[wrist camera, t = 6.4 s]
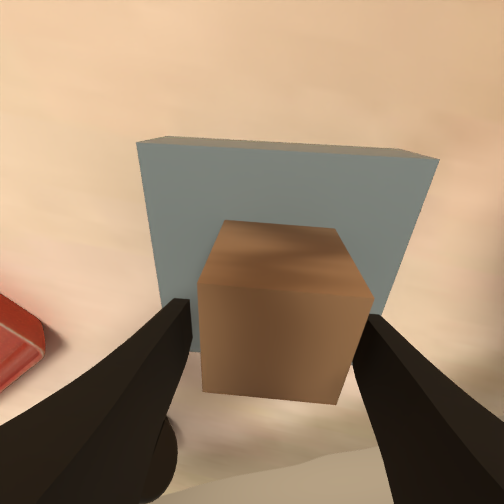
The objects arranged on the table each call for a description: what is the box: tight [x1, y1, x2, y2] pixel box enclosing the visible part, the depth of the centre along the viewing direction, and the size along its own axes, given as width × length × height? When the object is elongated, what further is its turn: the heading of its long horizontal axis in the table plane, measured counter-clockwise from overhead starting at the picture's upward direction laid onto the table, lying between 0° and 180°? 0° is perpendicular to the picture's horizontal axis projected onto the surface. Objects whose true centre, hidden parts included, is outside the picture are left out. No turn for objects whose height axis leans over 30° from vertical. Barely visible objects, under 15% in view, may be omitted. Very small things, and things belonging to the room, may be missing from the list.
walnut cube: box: [197, 220, 375, 405], centre depth 11 cm, size 5×5×5 cm
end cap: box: [139, 417, 178, 504], centre depth 24 cm, size 10×7×7 cm
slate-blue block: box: [136, 136, 440, 365], centre depth 15 cm, size 12×12×4 cm
